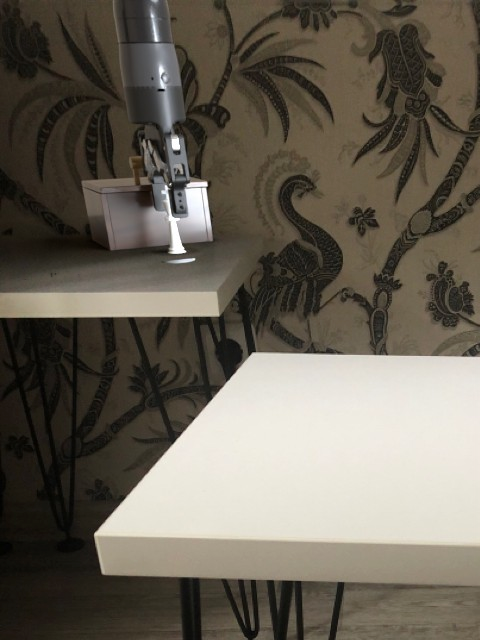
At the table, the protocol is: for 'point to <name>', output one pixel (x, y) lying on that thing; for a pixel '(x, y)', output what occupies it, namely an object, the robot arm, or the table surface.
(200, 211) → the chess box
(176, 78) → the robot arm
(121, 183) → the chess box lid
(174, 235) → the chess piece
